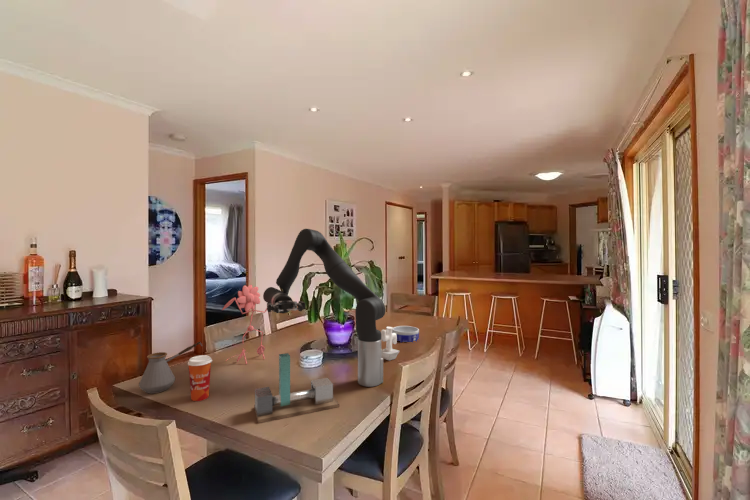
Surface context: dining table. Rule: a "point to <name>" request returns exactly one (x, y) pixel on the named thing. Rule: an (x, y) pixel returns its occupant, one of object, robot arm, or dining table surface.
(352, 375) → the dining table surface
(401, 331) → the dog bowl
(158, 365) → the coffee pot
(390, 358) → the figurine
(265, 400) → the sleeve and socket
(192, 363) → the paper cup
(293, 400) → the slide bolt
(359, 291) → the robot arm
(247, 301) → the figurine
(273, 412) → the walnut board
